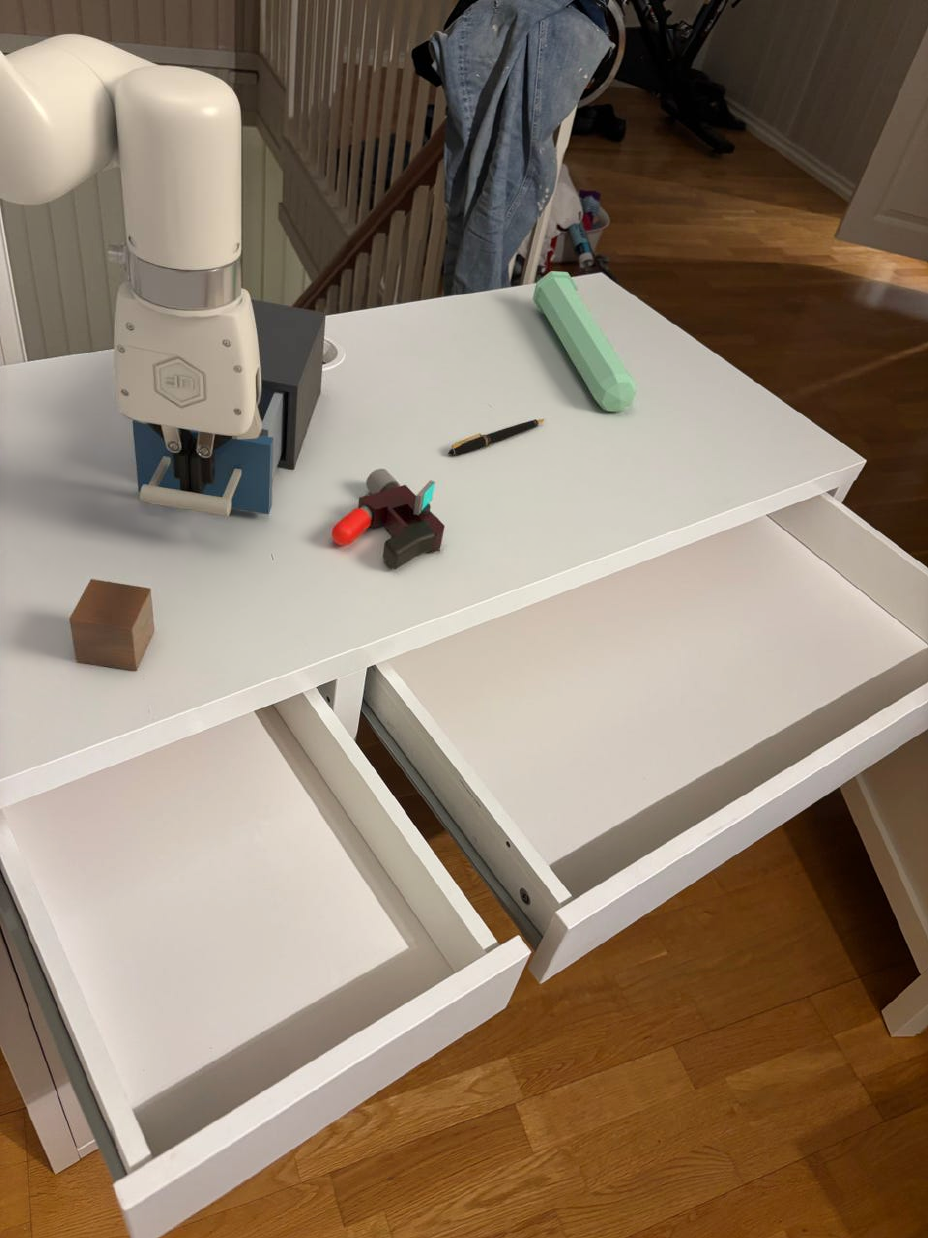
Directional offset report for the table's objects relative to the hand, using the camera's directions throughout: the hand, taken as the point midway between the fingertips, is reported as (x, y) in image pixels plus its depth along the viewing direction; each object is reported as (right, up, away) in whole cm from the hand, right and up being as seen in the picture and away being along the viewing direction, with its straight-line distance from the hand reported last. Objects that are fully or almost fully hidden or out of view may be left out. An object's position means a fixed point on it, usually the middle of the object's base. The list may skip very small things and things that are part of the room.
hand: (195, 485), depth 78 cm
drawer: (0, +2, +7) cm, 8 cm away
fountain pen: (+26, +8, +22) cm, 35 cm away
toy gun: (+14, -3, +8) cm, 16 cm away
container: (+36, +20, +37) cm, 56 cm away
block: (-4, -13, -7) cm, 15 cm away
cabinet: (0, +9, +17) cm, 19 cm away
